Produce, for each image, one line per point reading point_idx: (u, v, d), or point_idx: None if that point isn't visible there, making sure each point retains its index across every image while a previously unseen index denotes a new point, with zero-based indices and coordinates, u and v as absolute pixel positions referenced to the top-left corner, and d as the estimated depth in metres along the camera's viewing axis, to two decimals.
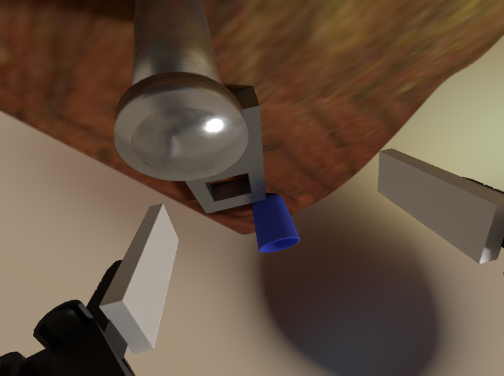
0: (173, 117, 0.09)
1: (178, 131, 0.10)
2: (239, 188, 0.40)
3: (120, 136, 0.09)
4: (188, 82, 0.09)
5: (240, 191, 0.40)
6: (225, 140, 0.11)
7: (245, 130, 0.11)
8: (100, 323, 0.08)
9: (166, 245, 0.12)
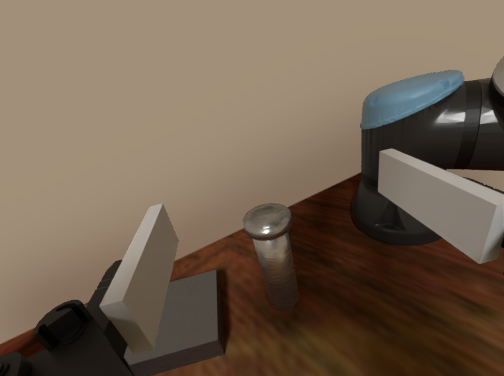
0: (281, 212, 0.28)
1: (274, 214, 0.28)
2: None
3: (274, 204, 0.30)
4: (291, 219, 0.27)
5: None
6: (268, 225, 0.26)
7: (273, 229, 0.25)
8: (100, 323, 0.08)
9: (166, 245, 0.12)
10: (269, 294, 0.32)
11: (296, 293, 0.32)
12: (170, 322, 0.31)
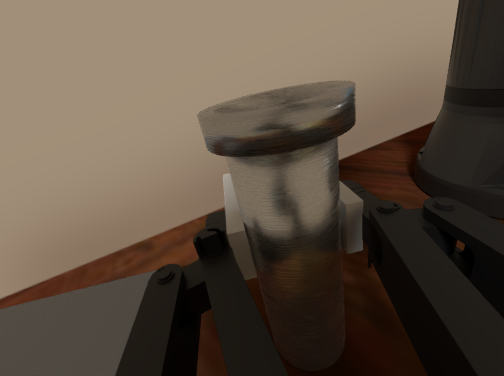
0: (318, 86, 0.09)
1: (297, 91, 0.09)
2: None
3: (292, 86, 0.11)
4: None
5: None
6: (278, 103, 0.07)
7: (299, 104, 0.06)
8: None
9: None
10: (275, 330, 0.13)
11: (342, 329, 0.13)
12: None
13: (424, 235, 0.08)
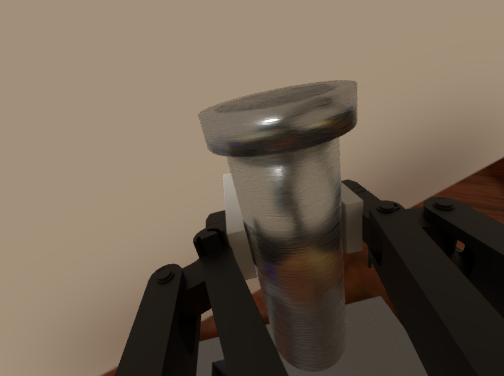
0: (320, 86, 0.09)
1: (299, 91, 0.09)
2: None
3: (293, 86, 0.11)
4: None
5: None
6: (279, 102, 0.07)
7: (301, 103, 0.06)
8: None
9: None
10: (276, 331, 0.13)
11: (343, 330, 0.13)
12: None
13: (424, 235, 0.08)
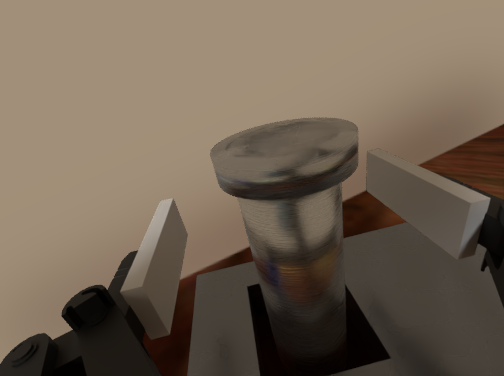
0: (323, 127, 0.09)
1: (303, 131, 0.09)
2: (261, 368, 0.14)
3: (298, 119, 0.11)
4: None
5: (259, 361, 0.13)
6: (287, 150, 0.08)
7: (307, 156, 0.07)
8: (120, 308, 0.08)
9: (177, 238, 0.13)
10: (280, 348, 0.13)
11: (345, 347, 0.13)
12: (469, 299, 0.13)
13: None
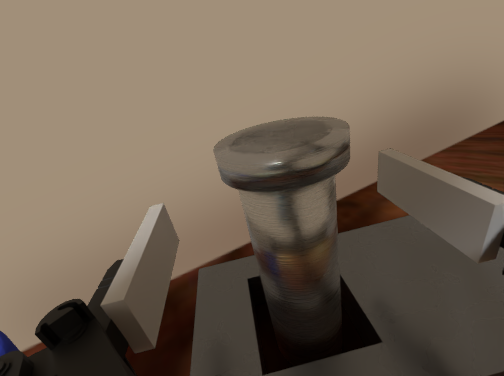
0: (318, 125, 0.10)
1: (299, 129, 0.10)
2: (261, 354, 0.14)
3: (295, 118, 0.12)
4: None
5: (259, 347, 0.14)
6: (284, 146, 0.09)
7: (302, 152, 0.08)
8: (101, 322, 0.08)
9: (167, 245, 0.13)
10: (279, 335, 0.14)
11: (340, 334, 0.14)
12: (457, 288, 0.14)
13: None
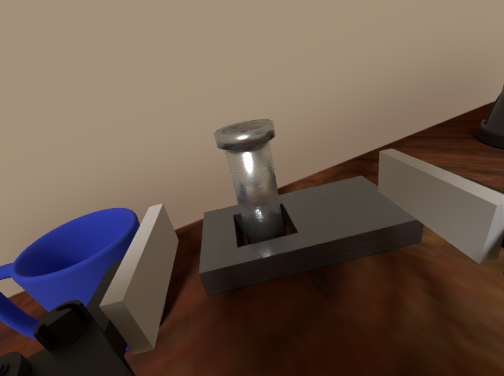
0: (261, 123, 0.22)
1: (253, 124, 0.22)
2: (238, 247, 0.26)
3: (254, 120, 0.24)
4: (273, 129, 0.22)
5: (237, 242, 0.26)
6: (243, 131, 0.21)
7: (248, 132, 0.20)
8: (100, 323, 0.08)
9: (166, 245, 0.12)
10: (248, 236, 0.26)
11: (281, 236, 0.26)
12: (343, 211, 0.26)
13: None
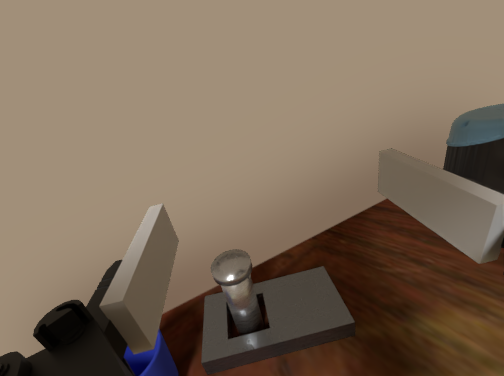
0: (243, 260, 0.33)
1: (237, 261, 0.33)
2: (229, 333, 0.37)
3: (239, 250, 0.35)
4: (250, 267, 0.32)
5: (228, 330, 0.37)
6: (229, 273, 0.31)
7: (233, 278, 0.31)
8: (100, 323, 0.08)
9: (166, 245, 0.12)
10: (236, 326, 0.37)
11: (259, 325, 0.37)
12: (303, 308, 0.37)
13: None
